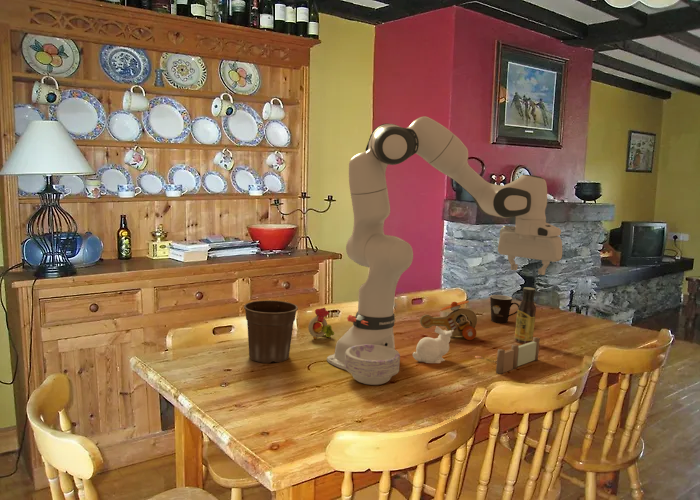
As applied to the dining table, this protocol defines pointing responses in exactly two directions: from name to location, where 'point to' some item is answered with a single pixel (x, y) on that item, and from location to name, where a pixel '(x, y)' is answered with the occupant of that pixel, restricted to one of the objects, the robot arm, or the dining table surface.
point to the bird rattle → (317, 327)
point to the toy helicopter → (454, 321)
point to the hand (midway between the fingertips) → (527, 272)
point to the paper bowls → (372, 363)
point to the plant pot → (270, 329)
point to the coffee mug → (501, 308)
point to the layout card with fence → (506, 359)
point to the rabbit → (433, 347)
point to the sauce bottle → (525, 317)
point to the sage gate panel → (528, 351)
